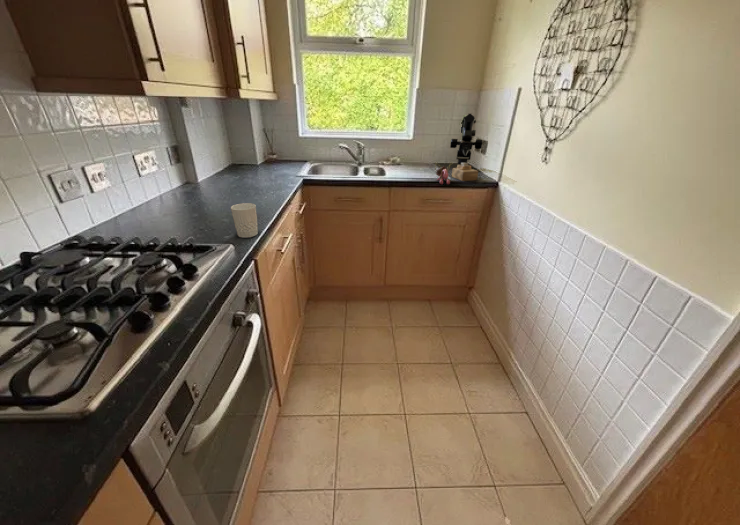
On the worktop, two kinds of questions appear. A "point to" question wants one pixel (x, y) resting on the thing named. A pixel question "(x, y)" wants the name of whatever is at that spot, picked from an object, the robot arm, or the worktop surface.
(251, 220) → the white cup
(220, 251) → the worktop surface
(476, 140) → the robot arm
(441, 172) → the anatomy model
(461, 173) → the tan stepped block
